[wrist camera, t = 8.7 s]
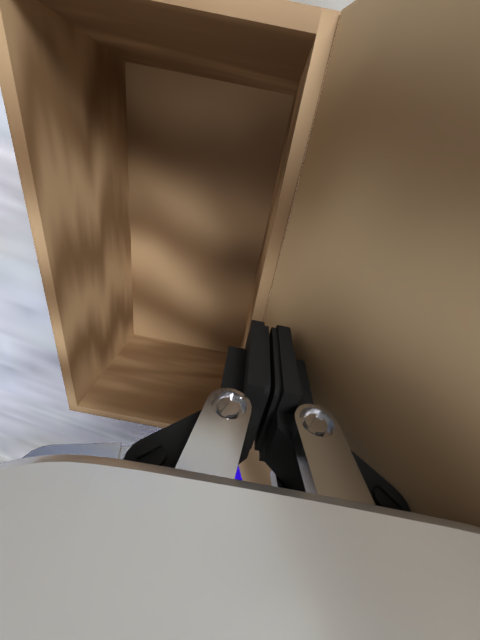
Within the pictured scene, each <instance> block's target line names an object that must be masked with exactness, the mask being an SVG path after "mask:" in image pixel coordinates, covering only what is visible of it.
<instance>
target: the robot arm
mask: <svg viewBox="0 0 480 640" xmlns="http://www.w3.org/2000/svg"><path fill="white" fill-rule="evenodd" d="M254 439H255V441H254ZM253 442H254V449H255V450H257V451H259V461H263V462H265V463H266V464H267V465H268V466H269V468H270V469H271V472H270V477H271V484H272V486H270V485H264V484H259V483H253V482H248V481H243V480H237V479H235V475H236V471H237V467H238V465H239V464H240V463H241V462H243V461H244V460H246V459H247V457H248V454H249V451H250V449H251V448H252V445H253ZM0 640H480V527H477V526H473V525H470V524H465V523H460V522H456V521H451V520H446V519H441V518H437V517H432V516H427V515H422V514H417V513H412V512H411V510H410V508H409V506H408V503H407V502H406V500H405V499H404V498H403V496H402V495H401V494H400V493H399V492H398V491H397V490H396V489H395V488H394V487H393V486H392V485H391V484H390V483H389V482H387V481H386V480H385V479H384V478H383V477H382V476H381V475H379V474H378V473H377V472H376V471H375V470H374V469H372V468H371V467H370V466H369V465H368V464H367V463H366V462H364V461H363V460H362V459H361V458H360V457H359V456H357V455H356V454H355V453H354V452H353V451H352V450H351V449H350V448H349V446H348V444H347V441H346V439H345V437H344V435H343V433H342V431H341V428H340V426H339V424H338V422H337V420H336V419H335V417H334V416H333V415H332V414H331V413H330V412H329V411H327V410H326V409H324V408H322V407H320V406H318V405H314V403H313V398H312V394H311V389H310V384H309V380H308V375H307V370H306V366H305V362H304V361H303V360H299V359H296V358H295V352H294V347H293V341H292V335H291V329H290V327H286V326H281V325H277V326H276V328H274V327H271V330H270V333H269V326H265V322H261V321H256V320H252V321H251V325H250V329H249V333H248V337H247V341H246V345H245V349H244V348H239V347H234V346H229V348H228V353H227V358H226V363H225V367H224V372H223V377H222V383H221V388H220V389H217V390H215V391H213V392H212V393H211V394H210V395H209V396H208V398H207V400H206V402H205V404H204V406H203V409H202V410H200V411H198V412H196V413H194V414H192V415H190V416H187V417H185V418H183V419H181V420H179V421H177V422H175V423H173V424H171V425H169V426H167V427H165V428H163V429H161V430H159V431H157V432H155V433H153V434H151V435H149V436H147V437H145V438H143V439H141V440H139V441H138V442H136V443H135V444H133V445H132V446H121V443H93V444H57V445H47V446H42V447H39V448H37V449H35V450H33V451H31V452H29V453H28V454H27V455H25V456H24V457H23V458H21V459H16V460H11V461H7V462H3V463H0Z"/></svg>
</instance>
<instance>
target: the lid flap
mask: <svg viewBox="0 0 480 640" xmlns="http://www.w3.org/2000/svg"><path fill="white" fill-rule="evenodd" d="M263 322H265V326H269V333H270V330H271V327H274V328H276V326H277V325H281V326H286V327H290V329H291V335H292V341H293V347H294V352H295V358H296V359H299V360H303V361H304V362H305V366H306V370H307V375H308V380H309V384H310V389H311V394H312V398H313V403H314V405H318V406H320V407H322V408H324V409H326V410H327V411H329V412H330V413H331V414H332V415H333V416H334V417H335V419H336V420H337V422H338V424H339V426H340V428H341V431H342V433H343V435H344V437H345V439H346V441H347V444H348V446H349V448H350V449H351V450H352V451H353V452H354V453H355V454H356V455H357V456H359V457H360V458H361V459H362V460H363V461H364V462H366V463H367V464H368V465H369V466H370V467H371V468H372V469H374V470H375V471H376V472H377V473H378V474H379V475H381V476H382V477H383V478H384V479H385V480H386V481H387V482H389V483H390V484H391V485H392V486H393V487H394V488H395V489H396V490H397V491H398V492H399V493H400V494H401V495H402V496H403V498H404V499H405V500H406V502H407V503H408V506H409V508H410V510H411V512H412V513H417V514H422V515H427V516H432V517H437V518H441V519H446V520H451V521H456V522H460V523H465V524H470V525H473V526H477V527H480V0H356V1H354V2H353V3H351V4H350V5H348V6H347V7H346V8H344V9H343V10H342V11H341V15H340V19H339V23H338V27H337V31H336V35H335V39H334V43H333V47H332V51H331V55H330V59H329V63H328V67H327V71H326V75H325V79H324V82H323V86H322V90H321V94H320V98H319V102H318V106H317V110H316V114H315V118H314V122H313V126H312V130H311V134H310V138H309V142H308V146H307V150H306V154H305V158H304V162H303V166H302V170H301V174H300V178H299V181H298V185H297V189H296V193H295V197H294V201H293V205H292V209H291V213H290V217H289V221H288V225H287V229H286V233H285V237H284V241H283V245H282V249H281V253H280V257H279V261H278V265H277V269H276V273H275V277H274V280H273V284H272V288H271V292H270V296H269V300H268V304H267V308H266V312H265V316H264V320H263ZM254 441H255V439H254ZM238 466H239V469H240V473H241V477H242V480H243V481H248V482H253V483H259V484H264V485H270V486H272V484H271V477H270V472H271V469H270V468H269V466H268V465H267V464H266V463H265V462H263V461H259V451H257V450H255V449H254V442H253V445H252V448H251V449H250V451H249V454H248V457H247V459H246V460H244V461H243V462H241V463H240V464H239V465H238Z"/></svg>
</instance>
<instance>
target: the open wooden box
mask: <svg viewBox="0 0 480 640" xmlns="http://www.w3.org/2000/svg"><path fill="white" fill-rule="evenodd" d="M340 14H341V11H336V10H331V9H326V8H321V7H316V6H311V5H306V4H301V3H296V2H291V1H287V0H0V86H1V91H2V96H3V100H4V105H5V110H6V114H7V119H8V124H9V128H10V133H11V138H12V142H13V147H14V151H15V156H16V161H17V165H18V170H19V175H20V179H21V184H22V189H23V193H24V198H25V203H26V207H27V212H28V217H29V221H30V226H31V231H32V235H33V240H34V245H35V249H36V254H37V259H38V263H39V268H40V273H41V277H42V282H43V287H44V291H45V296H46V301H47V305H48V310H49V315H50V319H51V324H52V329H53V333H54V338H55V343H56V347H57V352H58V357H59V361H60V366H61V371H62V375H63V380H64V385H65V389H66V394H67V399H68V403H69V408H70V410H73V411H78V412H83V413H88V414H93V415H98V416H104V417H109V418H114V419H119V420H124V421H129V422H134V423H139V424H144V425H149V426H154V427H159V428H165V427H167V426H169V425H171V424H173V423H175V422H177V421H179V420H181V419H183V418H185V417H187V416H190V415H192V414H194V413H196V412H198V411H200V410H202V409H203V406H204V404H205V402H206V400H207V398H208V396H209V395H210V394H211V393H212V392H213V391H215V390H217V389H220V388H221V383H222V377H223V372H224V367H225V363H226V358H227V353H228V348H229V346H234V347H239V348H244V349H245V345H246V341H247V337H248V333H249V329H250V325H251V321H252V320H256V321H261V322H263V319H264V315H265V311H266V307H267V303H268V299H269V295H270V292H271V288H272V284H273V280H274V276H275V272H276V268H277V264H278V260H279V256H280V252H281V248H282V244H283V240H284V236H285V232H286V228H287V224H288V220H289V216H290V212H291V208H292V204H293V200H294V196H295V192H296V188H297V184H298V180H299V176H300V173H301V169H302V165H303V161H304V157H305V153H306V149H307V145H308V141H309V137H310V133H311V129H312V125H313V121H314V117H315V113H316V109H317V105H318V101H319V97H320V93H321V89H322V85H323V81H324V77H325V73H326V69H327V65H328V61H329V57H330V54H331V50H332V46H333V42H334V38H335V34H336V30H337V26H338V22H339V18H340Z"/></svg>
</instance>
